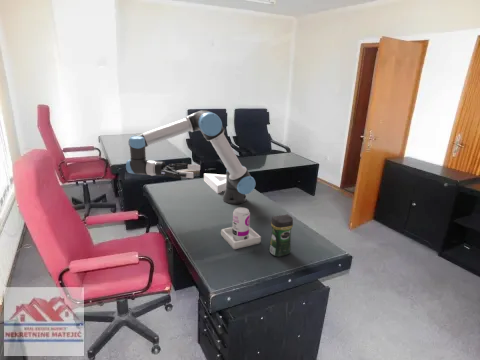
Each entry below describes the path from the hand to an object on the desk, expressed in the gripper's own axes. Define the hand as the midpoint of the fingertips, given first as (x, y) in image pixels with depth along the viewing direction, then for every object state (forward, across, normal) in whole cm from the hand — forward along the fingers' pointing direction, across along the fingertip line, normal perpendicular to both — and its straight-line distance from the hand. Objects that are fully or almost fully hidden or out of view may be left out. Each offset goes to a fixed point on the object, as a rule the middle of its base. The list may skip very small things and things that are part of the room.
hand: (196, 171), depth 158 cm
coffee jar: (+44, +20, -30) cm, 57 cm away
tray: (+25, +12, -30) cm, 41 cm away
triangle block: (+2, -61, -31) cm, 68 cm away
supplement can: (+25, +12, -29) cm, 40 cm away
